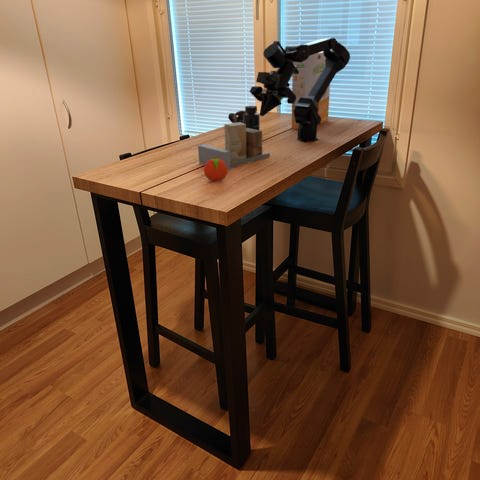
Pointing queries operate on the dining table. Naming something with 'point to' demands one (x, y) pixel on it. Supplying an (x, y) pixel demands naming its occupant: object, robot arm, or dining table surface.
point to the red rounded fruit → (215, 169)
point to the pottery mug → (235, 119)
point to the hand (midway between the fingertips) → (261, 115)
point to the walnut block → (253, 142)
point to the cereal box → (310, 84)
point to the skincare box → (236, 141)
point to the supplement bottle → (251, 118)
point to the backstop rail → (223, 156)
